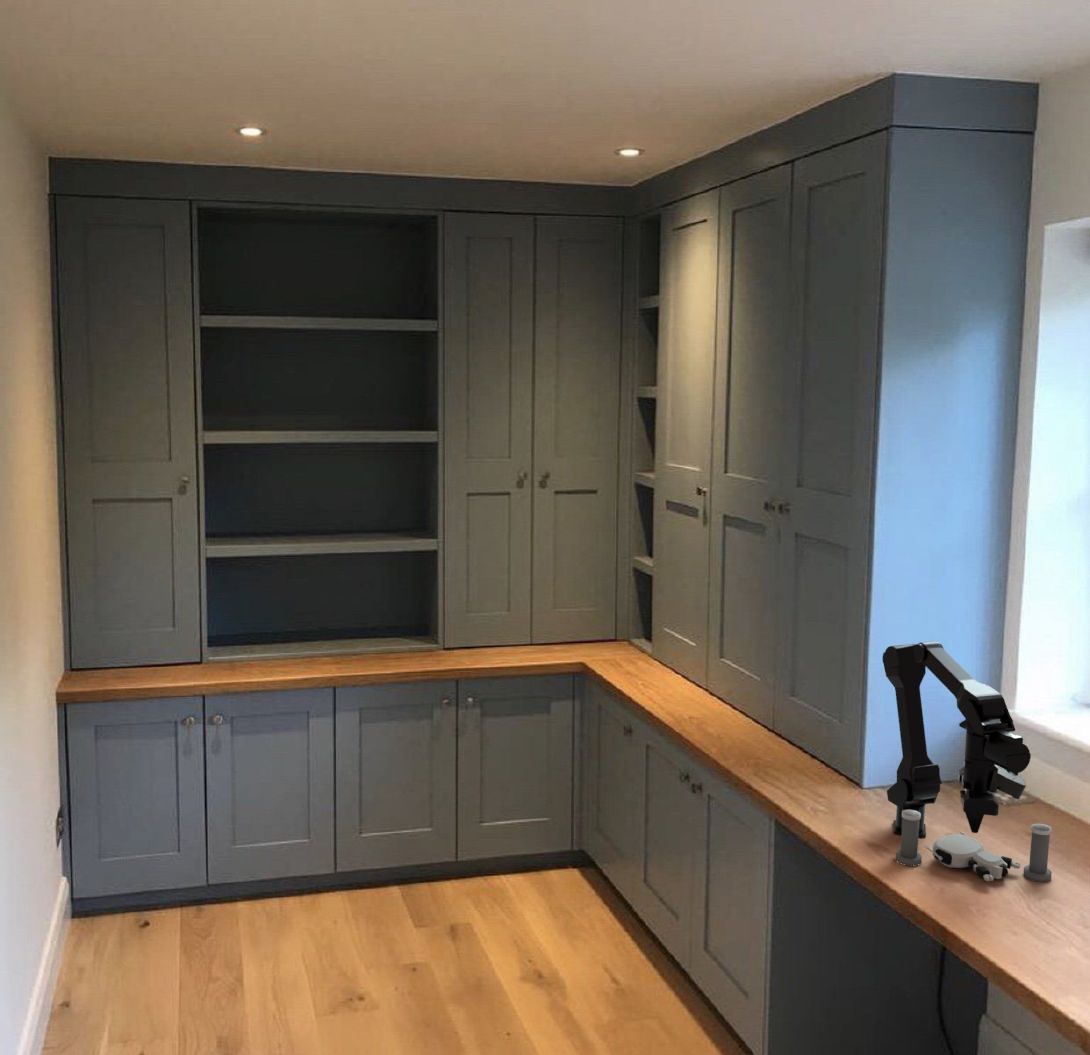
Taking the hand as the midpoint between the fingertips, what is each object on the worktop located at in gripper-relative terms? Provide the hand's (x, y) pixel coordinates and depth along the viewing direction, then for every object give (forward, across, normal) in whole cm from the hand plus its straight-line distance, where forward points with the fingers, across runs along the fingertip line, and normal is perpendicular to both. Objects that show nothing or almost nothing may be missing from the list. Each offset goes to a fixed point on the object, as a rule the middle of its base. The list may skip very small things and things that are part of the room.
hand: (974, 832), depth 241 cm
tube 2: (+8, 0, -12) cm, 14 cm away
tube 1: (+8, 0, +12) cm, 14 cm away
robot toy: (+8, 0, 0) cm, 8 cm away
